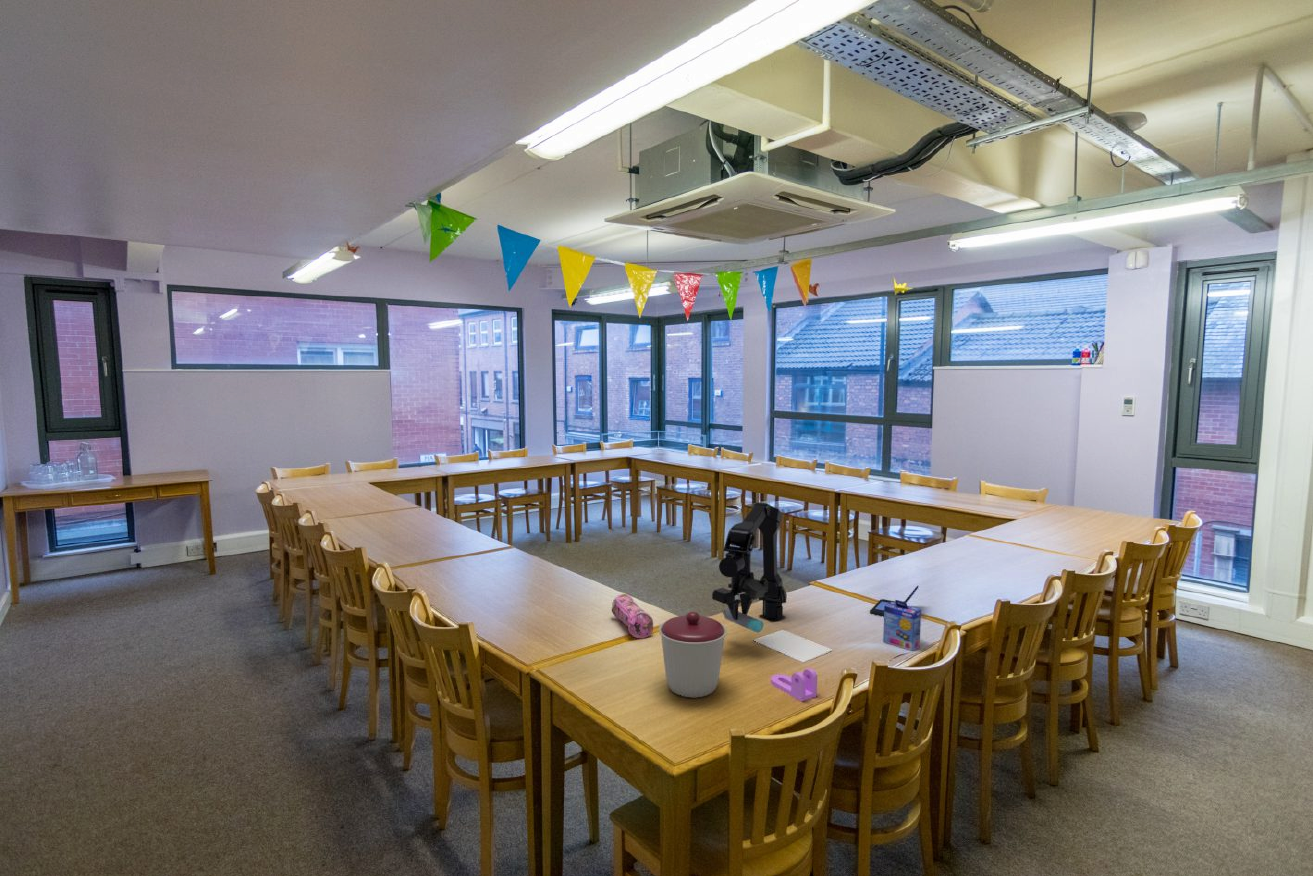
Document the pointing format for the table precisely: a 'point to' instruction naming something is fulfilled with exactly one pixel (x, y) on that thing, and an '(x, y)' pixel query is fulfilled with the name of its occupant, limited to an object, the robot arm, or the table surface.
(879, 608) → the handheld game console
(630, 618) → the pencil case
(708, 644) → the canister
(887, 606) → the ink cartridge box
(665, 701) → the table surface
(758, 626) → the marker
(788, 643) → the paper sheet
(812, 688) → the bracket
